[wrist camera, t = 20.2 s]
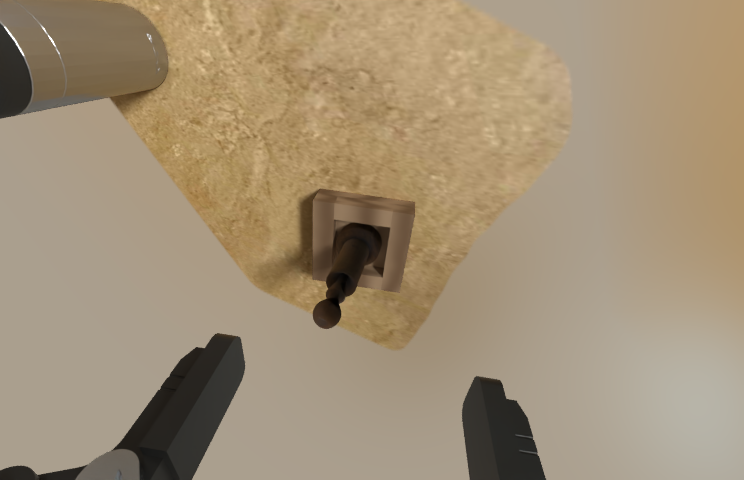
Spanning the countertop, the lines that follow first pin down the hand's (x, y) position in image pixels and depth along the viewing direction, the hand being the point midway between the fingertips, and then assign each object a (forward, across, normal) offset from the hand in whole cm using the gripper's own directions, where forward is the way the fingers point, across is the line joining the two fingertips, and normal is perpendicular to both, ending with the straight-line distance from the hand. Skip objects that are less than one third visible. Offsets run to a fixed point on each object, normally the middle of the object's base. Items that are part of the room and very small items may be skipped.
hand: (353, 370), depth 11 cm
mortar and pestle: (+35, +3, +17) cm, 39 cm away
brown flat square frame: (+37, +3, +17) cm, 41 cm away
